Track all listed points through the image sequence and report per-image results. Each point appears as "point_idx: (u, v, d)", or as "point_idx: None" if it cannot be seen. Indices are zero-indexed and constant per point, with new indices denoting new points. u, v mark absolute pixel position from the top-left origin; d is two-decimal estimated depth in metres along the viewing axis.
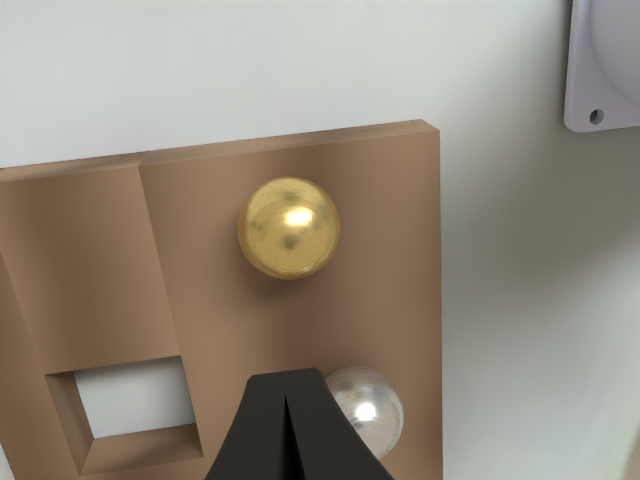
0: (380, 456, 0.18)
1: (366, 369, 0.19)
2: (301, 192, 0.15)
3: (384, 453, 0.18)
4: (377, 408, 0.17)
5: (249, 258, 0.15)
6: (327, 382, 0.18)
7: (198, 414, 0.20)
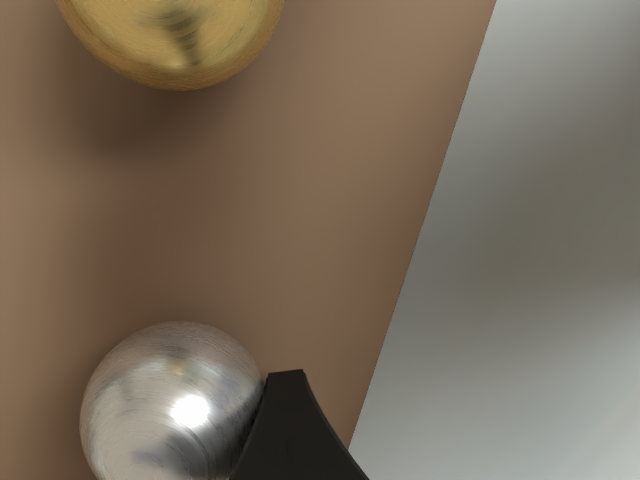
0: None
1: (225, 337, 0.10)
2: None
3: None
4: (197, 410, 0.08)
5: None
6: (144, 330, 0.09)
7: None
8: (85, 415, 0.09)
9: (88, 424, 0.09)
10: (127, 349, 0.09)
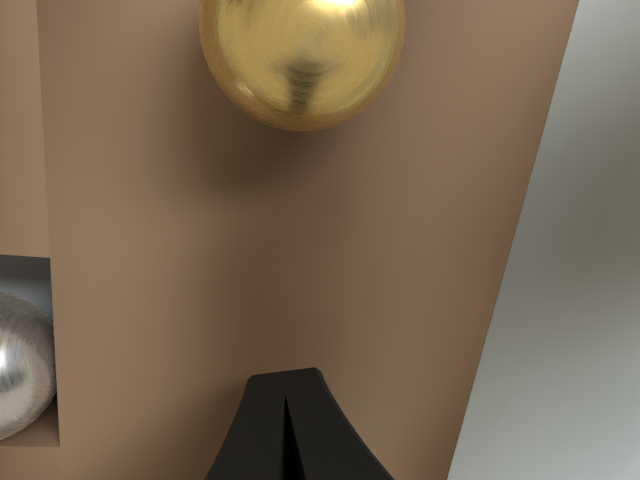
0: None
1: None
2: None
3: None
4: (40, 309, 0.12)
5: (213, 54, 0.07)
6: None
7: (62, 371, 0.11)
8: None
9: None
10: None
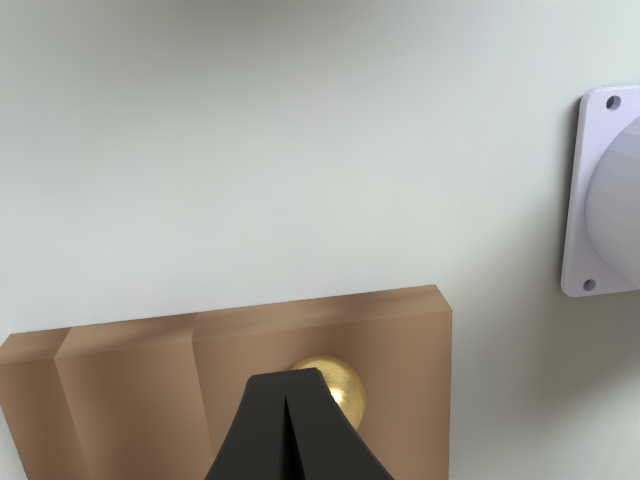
0: None
1: None
2: (334, 380, 0.17)
3: None
4: None
5: None
6: None
7: None
8: None
9: None
10: None
